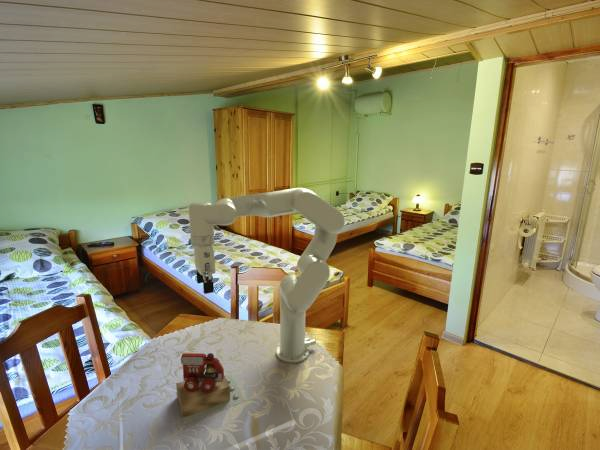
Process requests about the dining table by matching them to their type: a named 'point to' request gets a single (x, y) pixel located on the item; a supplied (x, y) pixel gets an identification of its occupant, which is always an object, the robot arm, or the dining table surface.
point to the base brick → (201, 397)
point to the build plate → (234, 400)
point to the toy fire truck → (201, 371)
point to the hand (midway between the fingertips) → (205, 287)
